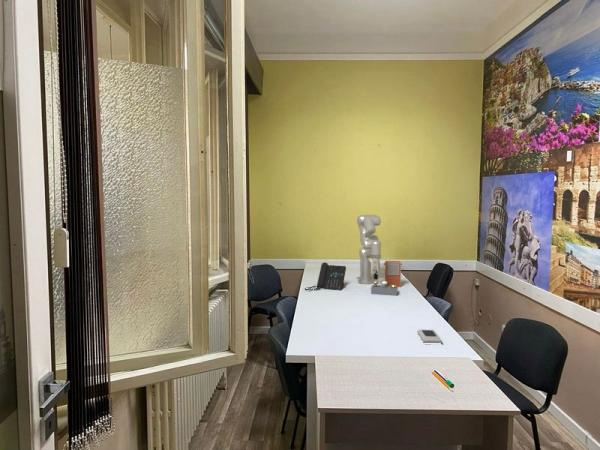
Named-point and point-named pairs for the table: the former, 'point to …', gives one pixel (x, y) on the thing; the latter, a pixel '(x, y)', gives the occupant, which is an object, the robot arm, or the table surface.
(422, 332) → the keypad
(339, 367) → the table surface
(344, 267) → the office phone
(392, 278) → the control panel
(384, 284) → the grey knob middle
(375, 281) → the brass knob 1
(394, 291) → the mount
